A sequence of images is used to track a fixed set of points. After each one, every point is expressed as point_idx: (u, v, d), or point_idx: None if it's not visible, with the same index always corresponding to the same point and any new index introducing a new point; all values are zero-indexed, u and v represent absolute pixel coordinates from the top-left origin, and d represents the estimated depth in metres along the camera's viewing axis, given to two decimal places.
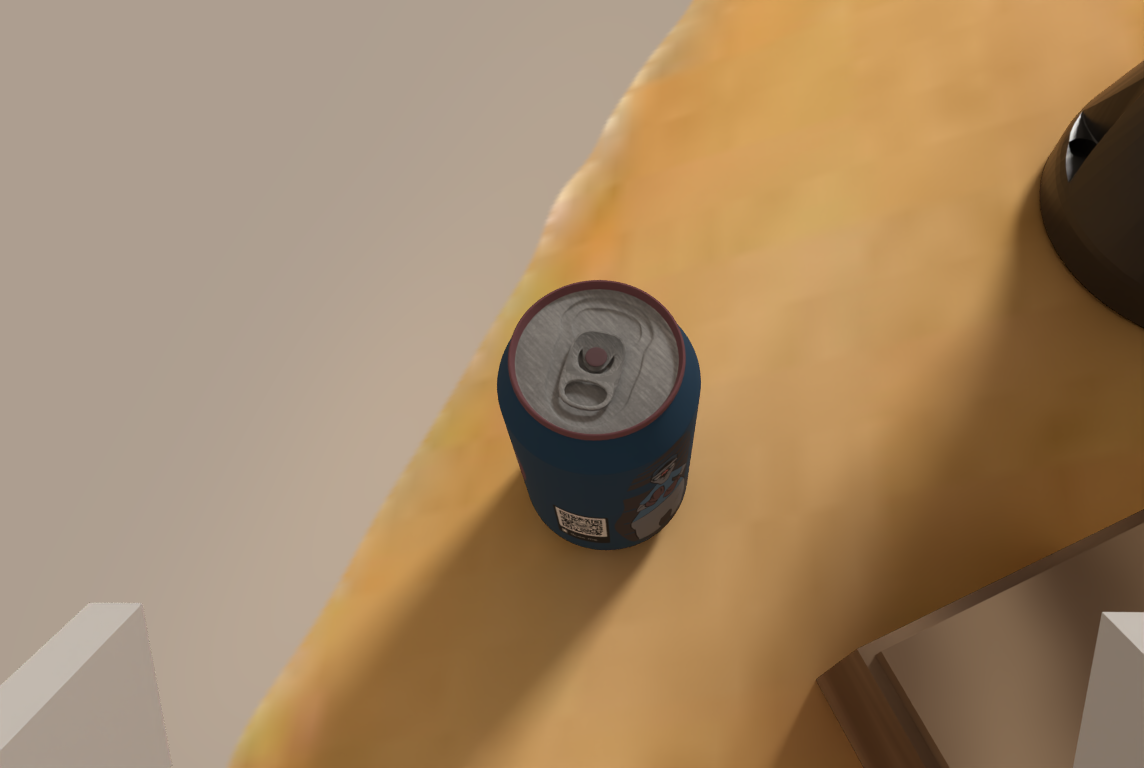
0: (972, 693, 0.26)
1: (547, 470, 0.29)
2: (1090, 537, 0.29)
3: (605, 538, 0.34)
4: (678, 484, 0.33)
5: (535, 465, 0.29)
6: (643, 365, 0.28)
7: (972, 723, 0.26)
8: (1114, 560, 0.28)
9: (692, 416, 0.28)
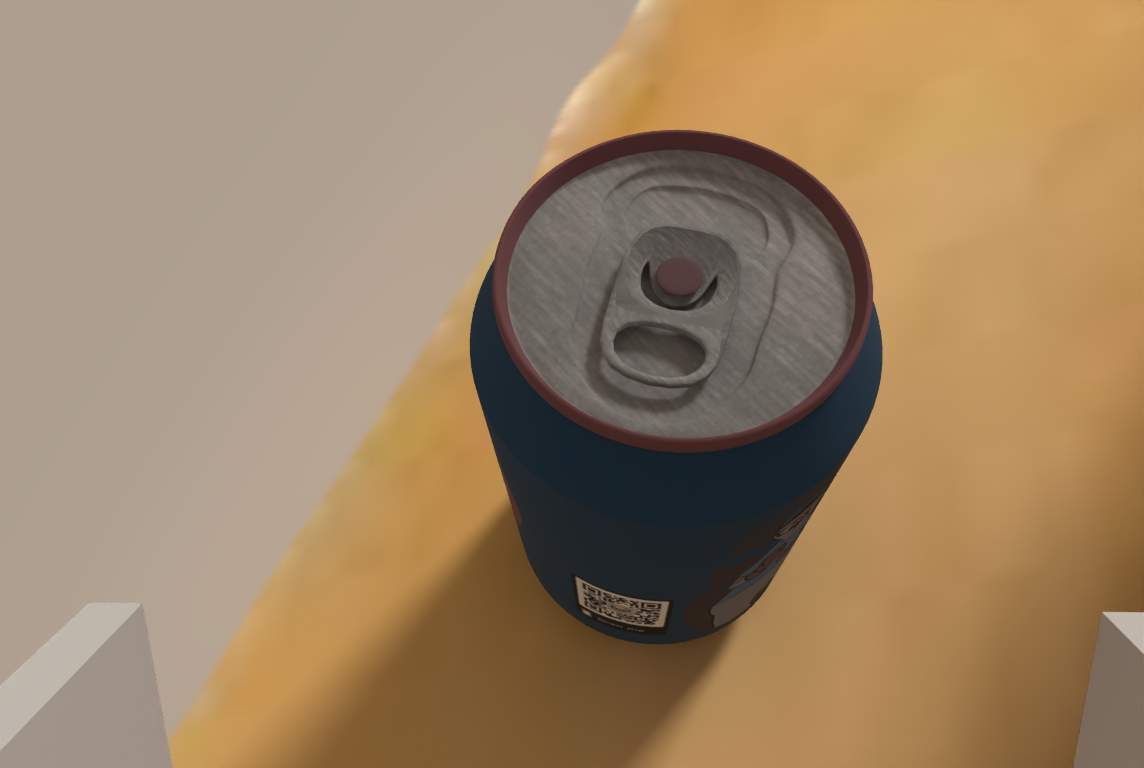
0: None
1: (570, 514, 0.14)
2: None
3: (658, 629, 0.19)
4: None
5: (544, 503, 0.14)
6: (779, 297, 0.13)
7: None
8: None
9: (872, 406, 0.14)
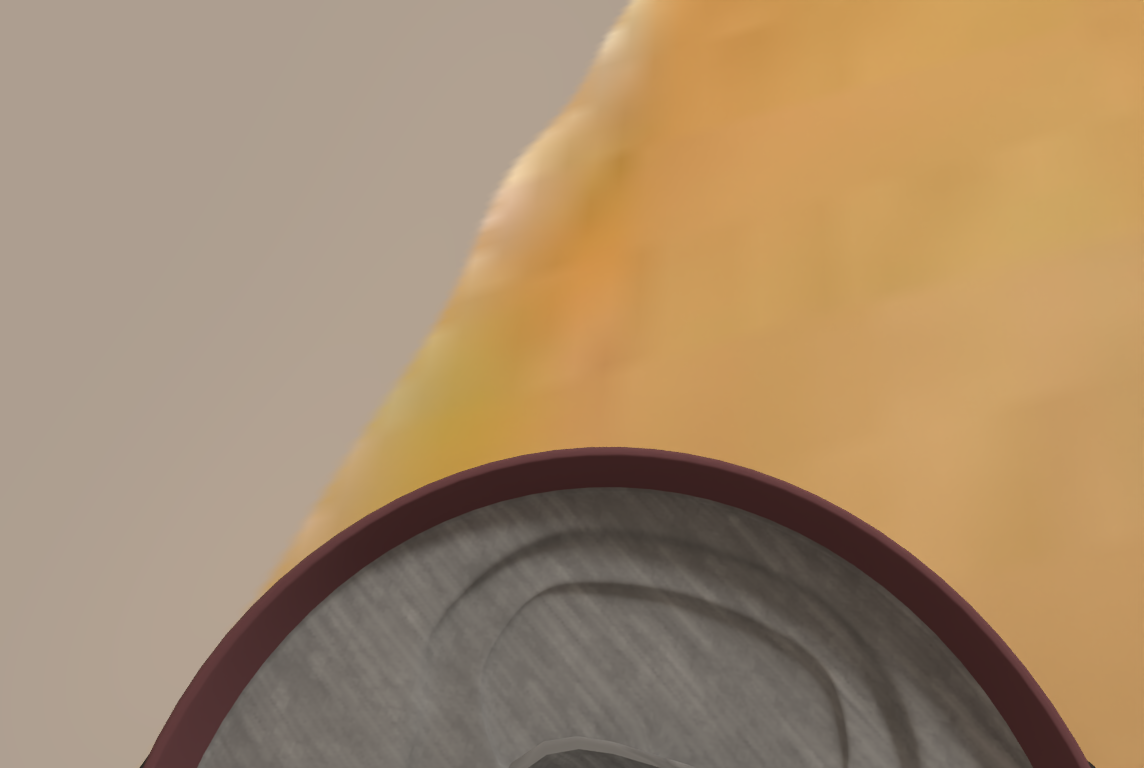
0: None
1: None
2: None
3: None
4: None
5: None
6: None
7: None
8: None
9: None
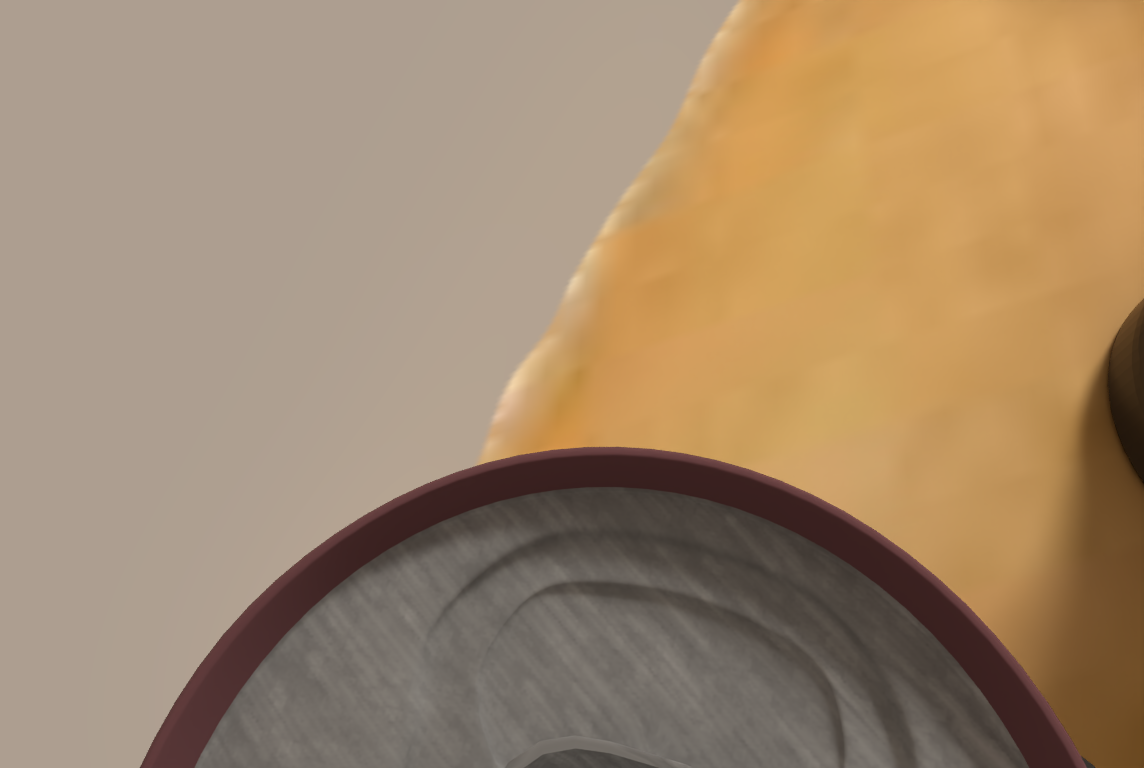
0: None
1: None
2: None
3: None
4: None
5: None
6: None
7: None
8: None
9: None
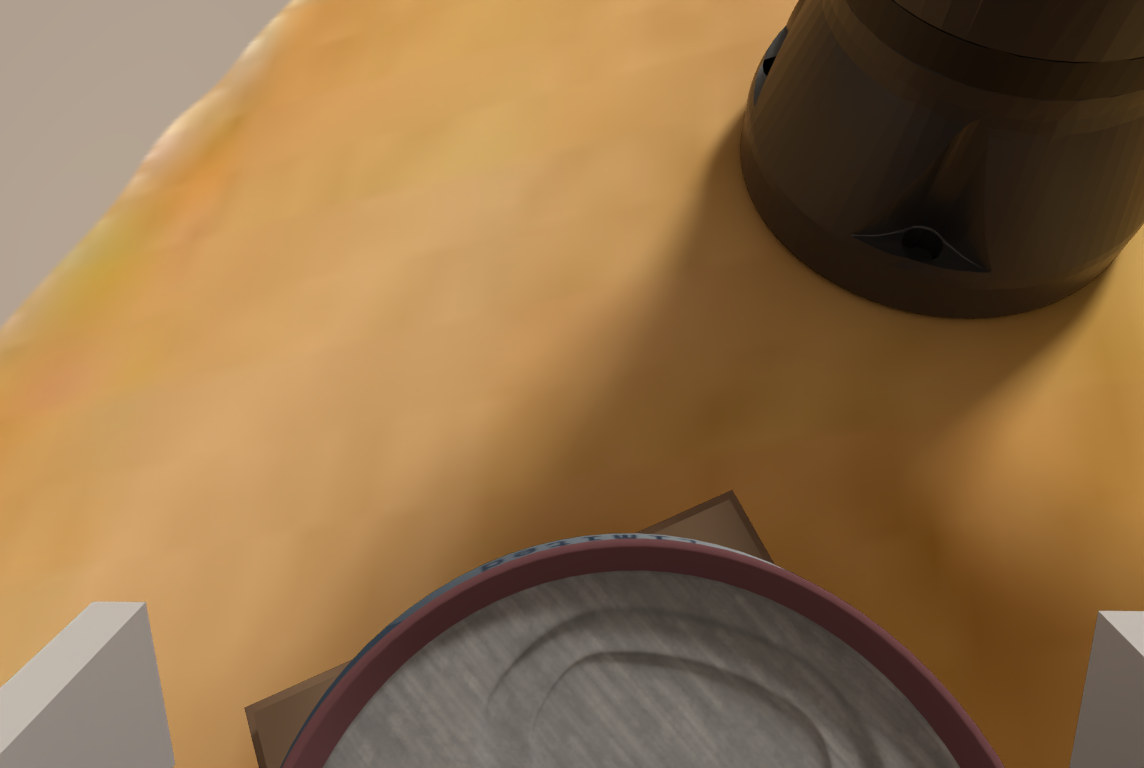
0: None
1: None
2: None
3: None
4: None
5: None
6: None
7: None
8: None
9: None
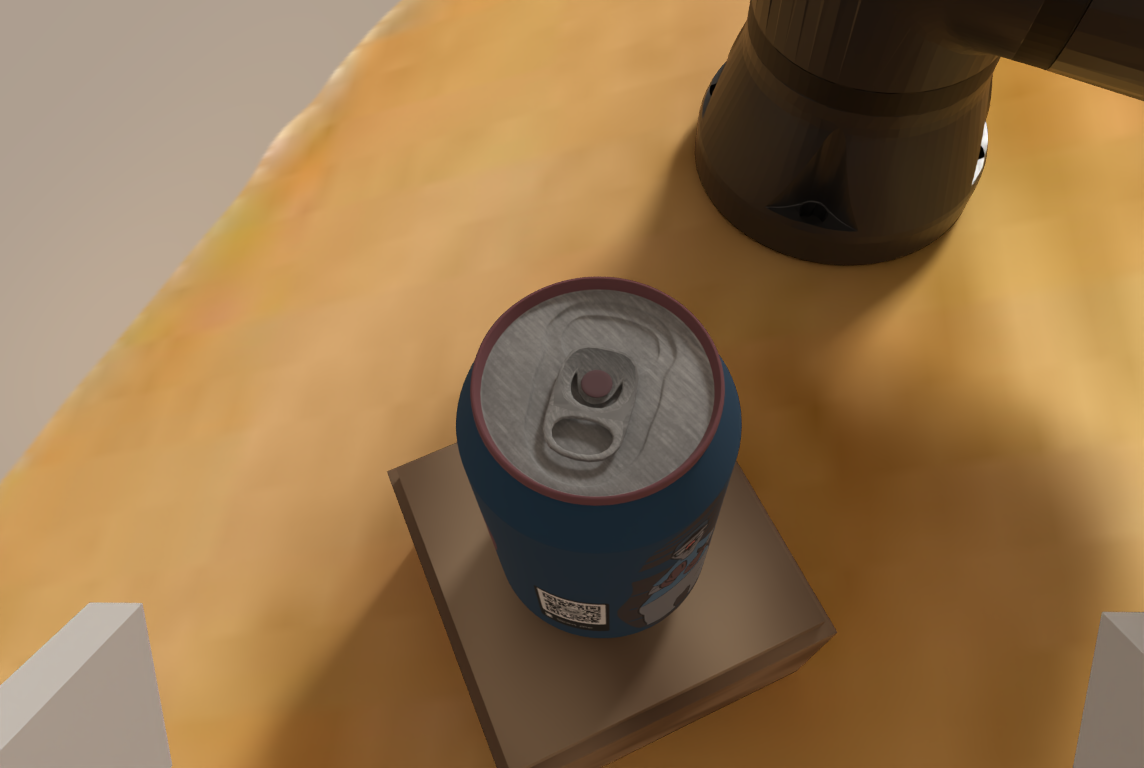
0: (462, 499, 0.31)
1: (527, 545, 0.20)
2: None
3: (603, 626, 0.26)
4: (702, 555, 0.24)
5: (510, 537, 0.21)
6: (664, 396, 0.20)
7: (456, 522, 0.31)
8: None
9: (732, 467, 0.20)
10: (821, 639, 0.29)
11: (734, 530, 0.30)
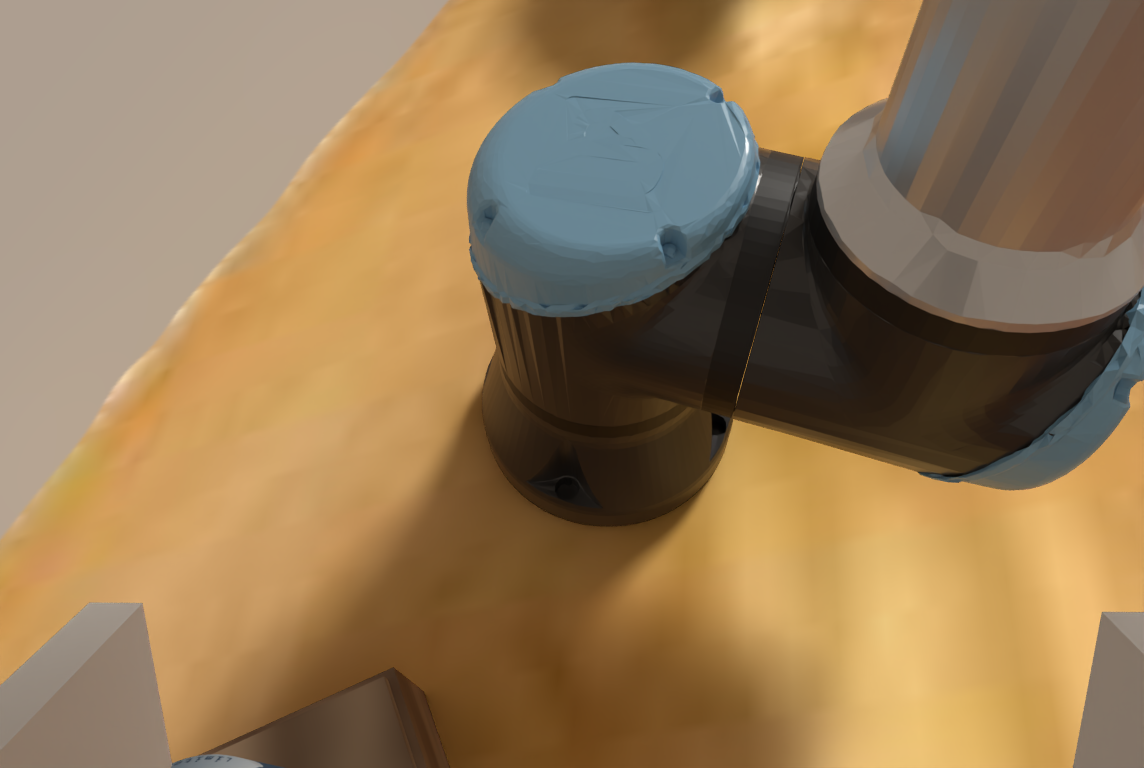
0: None
1: None
2: (329, 697, 0.40)
3: None
4: None
5: None
6: None
7: None
8: (323, 718, 0.38)
9: None
10: None
11: None
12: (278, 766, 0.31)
